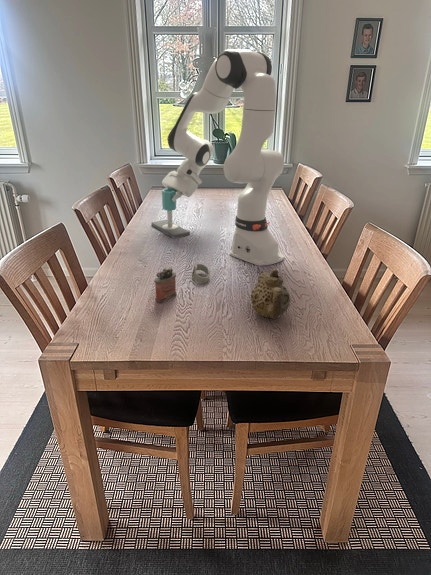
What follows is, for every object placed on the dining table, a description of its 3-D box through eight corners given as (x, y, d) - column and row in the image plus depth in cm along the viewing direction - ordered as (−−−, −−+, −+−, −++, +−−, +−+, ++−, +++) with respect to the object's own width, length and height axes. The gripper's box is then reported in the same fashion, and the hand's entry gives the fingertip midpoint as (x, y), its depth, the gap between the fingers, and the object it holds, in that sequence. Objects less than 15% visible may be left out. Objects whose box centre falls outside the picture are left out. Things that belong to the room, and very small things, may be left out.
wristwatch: (192, 272, 147) (192, 259, 145) (209, 272, 147) (210, 260, 145) (192, 284, 139) (192, 271, 137) (210, 284, 139) (211, 271, 137)
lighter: (171, 292, 133) (170, 263, 129) (178, 295, 131) (178, 266, 127) (152, 301, 128) (151, 271, 123) (160, 304, 126) (159, 275, 121)
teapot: (245, 298, 131) (248, 254, 124) (280, 298, 132) (285, 254, 125) (255, 336, 112) (259, 286, 105) (297, 335, 113) (304, 286, 106)
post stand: (189, 235, 181) (189, 207, 175) (174, 238, 177) (173, 209, 171) (166, 222, 195) (165, 196, 189) (151, 225, 191) (150, 198, 185)
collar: (178, 209, 181) (178, 191, 177) (167, 211, 178) (166, 192, 174) (171, 205, 185) (171, 188, 181) (160, 207, 182) (160, 189, 178)
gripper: (170, 164, 185) (151, 188, 184) (195, 173, 171) (175, 199, 170) (178, 173, 189) (160, 197, 189) (204, 182, 175) (185, 208, 174)
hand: (168, 198), depth 179 cm, fingers closed on collar, 6 cm apart
